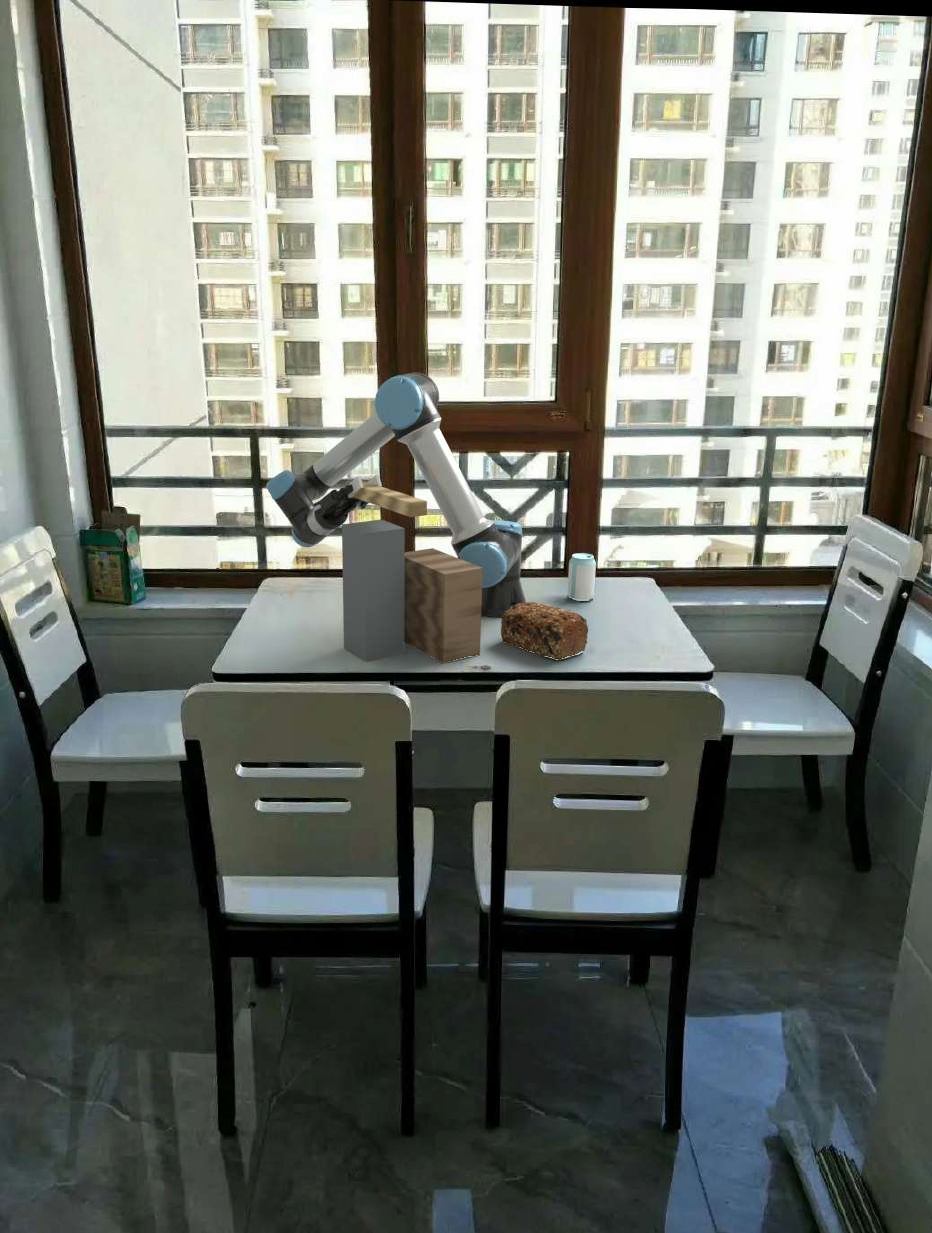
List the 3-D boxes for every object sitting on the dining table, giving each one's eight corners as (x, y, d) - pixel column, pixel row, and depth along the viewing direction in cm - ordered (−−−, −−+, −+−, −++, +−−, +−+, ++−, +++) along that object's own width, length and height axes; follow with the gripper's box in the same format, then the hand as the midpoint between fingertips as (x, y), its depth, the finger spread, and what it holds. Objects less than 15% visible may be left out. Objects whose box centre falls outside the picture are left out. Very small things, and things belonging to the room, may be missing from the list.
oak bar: (345, 494, 230) (345, 481, 229) (360, 492, 232) (360, 480, 231) (410, 517, 208) (410, 503, 207) (426, 515, 211) (426, 501, 210)
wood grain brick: (396, 637, 236) (396, 553, 230) (431, 630, 242) (432, 548, 235) (443, 663, 221) (444, 574, 214) (479, 655, 226) (482, 567, 220)
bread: (587, 653, 229) (590, 612, 226) (556, 664, 222) (559, 622, 219) (529, 633, 242) (531, 593, 239) (497, 642, 235) (499, 602, 232)
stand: (343, 648, 228) (341, 524, 219) (381, 640, 234) (381, 519, 225) (365, 661, 221) (364, 533, 212) (404, 653, 226) (404, 528, 217)
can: (578, 593, 274) (581, 551, 270) (598, 599, 269) (601, 556, 265) (561, 598, 269) (564, 555, 265) (582, 604, 264) (585, 560, 261)
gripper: (362, 526, 247) (406, 493, 228) (300, 534, 238) (340, 500, 219) (354, 497, 248) (397, 462, 229) (292, 504, 239) (331, 468, 219)
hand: (369, 481), depth 224 cm, fingers closed on oak bar, 4 cm apart
